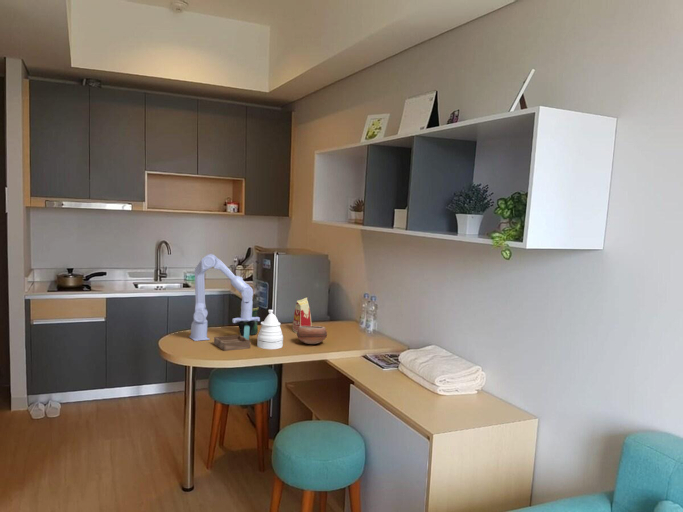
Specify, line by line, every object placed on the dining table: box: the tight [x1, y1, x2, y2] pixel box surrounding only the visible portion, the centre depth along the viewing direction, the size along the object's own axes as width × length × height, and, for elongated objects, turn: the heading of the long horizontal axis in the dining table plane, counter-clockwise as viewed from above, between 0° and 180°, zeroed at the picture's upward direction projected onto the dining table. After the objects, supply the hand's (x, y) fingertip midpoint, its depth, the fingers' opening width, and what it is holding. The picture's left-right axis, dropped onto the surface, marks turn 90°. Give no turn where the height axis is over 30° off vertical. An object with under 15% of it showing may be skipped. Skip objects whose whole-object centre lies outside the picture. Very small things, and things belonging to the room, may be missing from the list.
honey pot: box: [256, 309, 284, 350], centre depth 267 cm, size 13×13×18 cm
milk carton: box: [292, 297, 312, 334], centre depth 301 cm, size 9×9×20 cm
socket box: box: [213, 334, 251, 352], centre depth 262 cm, size 14×14×4 cm
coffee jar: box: [238, 300, 260, 336], centre depth 289 cm, size 10×8×19 cm
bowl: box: [296, 325, 328, 345], centre depth 276 cm, size 16×16×10 cm
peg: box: [242, 325, 250, 341], centre depth 275 cm, size 3×3×7 cm
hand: (245, 335), depth 276 cm, fingers closed on peg, 3 cm apart
